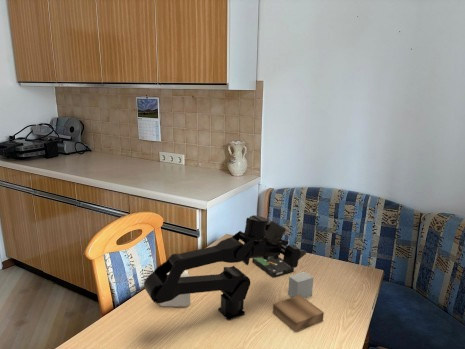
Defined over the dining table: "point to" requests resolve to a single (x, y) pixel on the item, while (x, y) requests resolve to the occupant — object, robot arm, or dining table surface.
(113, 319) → the dining table surface
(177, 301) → the photo printer
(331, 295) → the dining table surface
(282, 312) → the stand
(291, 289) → the block
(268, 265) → the disk drive
